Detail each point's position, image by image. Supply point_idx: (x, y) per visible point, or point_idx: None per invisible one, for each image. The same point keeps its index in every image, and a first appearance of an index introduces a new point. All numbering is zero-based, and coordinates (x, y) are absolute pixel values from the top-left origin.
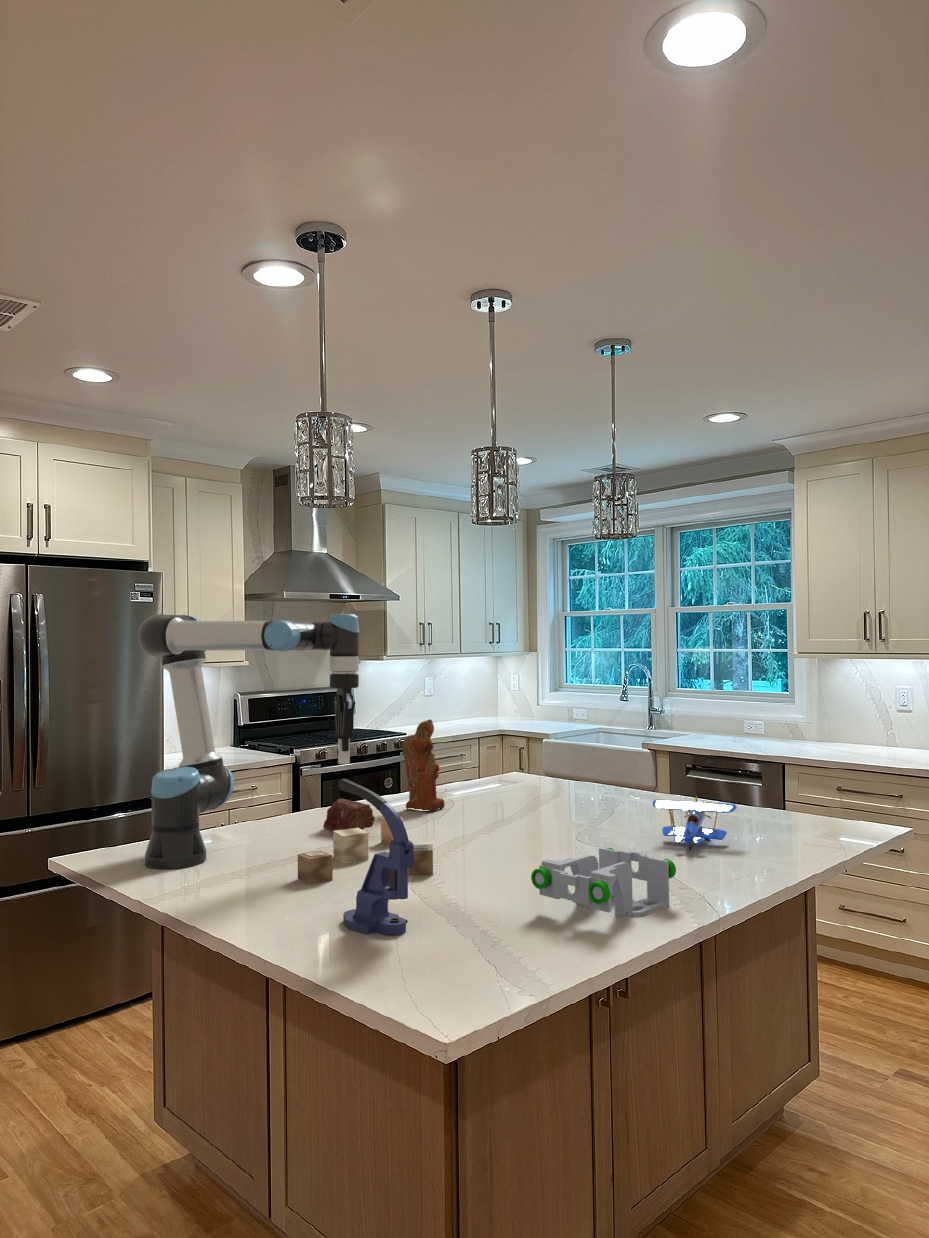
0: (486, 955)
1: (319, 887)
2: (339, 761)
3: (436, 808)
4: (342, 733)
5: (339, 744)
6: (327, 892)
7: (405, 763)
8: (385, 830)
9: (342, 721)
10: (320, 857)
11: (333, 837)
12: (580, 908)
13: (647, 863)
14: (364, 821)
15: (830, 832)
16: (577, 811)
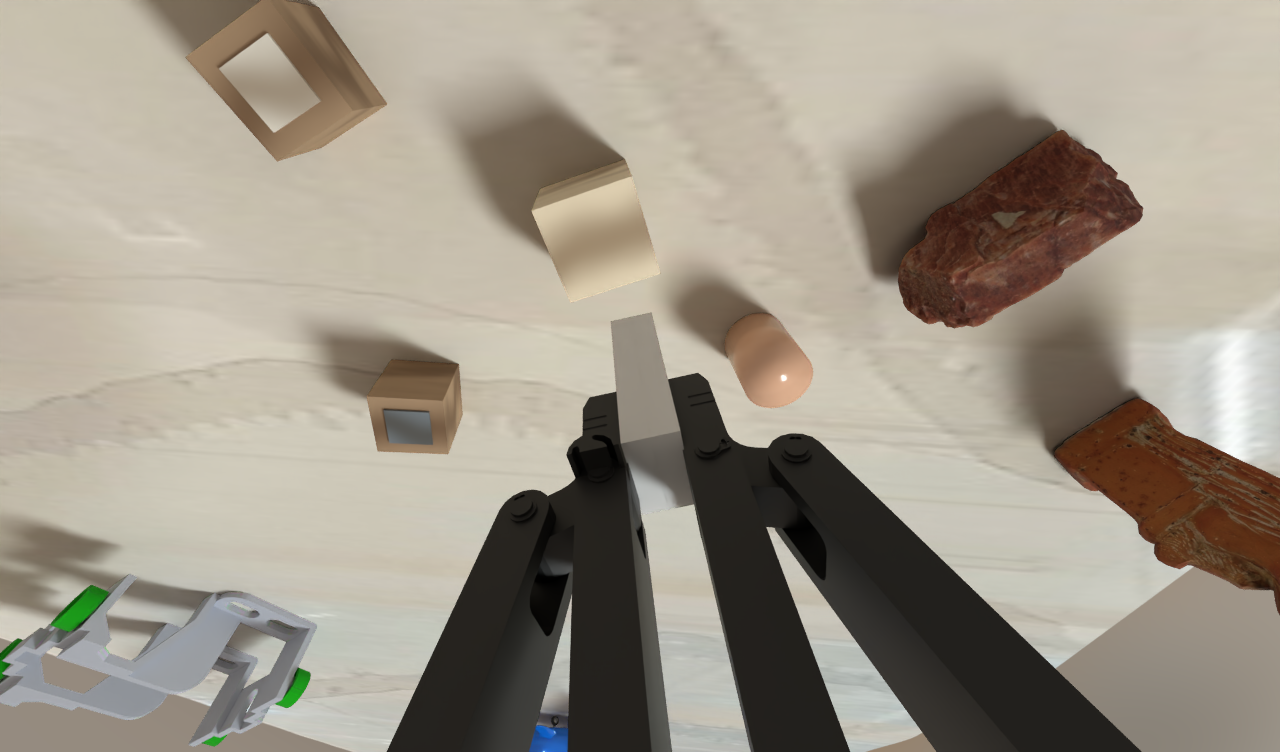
0: None
1: (219, 97)
2: (612, 329)
3: (1061, 464)
4: (515, 520)
5: (623, 405)
6: (162, 125)
7: None
8: (746, 344)
9: (574, 657)
10: (233, 109)
11: (628, 171)
12: (183, 593)
13: (216, 721)
14: (915, 287)
15: None
16: None
